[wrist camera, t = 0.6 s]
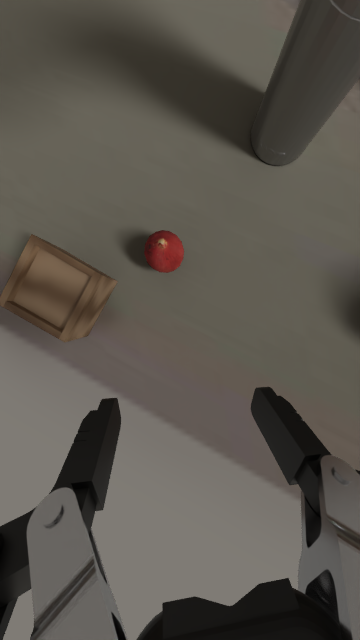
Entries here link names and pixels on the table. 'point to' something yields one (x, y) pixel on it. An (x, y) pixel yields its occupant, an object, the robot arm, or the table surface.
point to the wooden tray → (56, 290)
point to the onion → (164, 251)
